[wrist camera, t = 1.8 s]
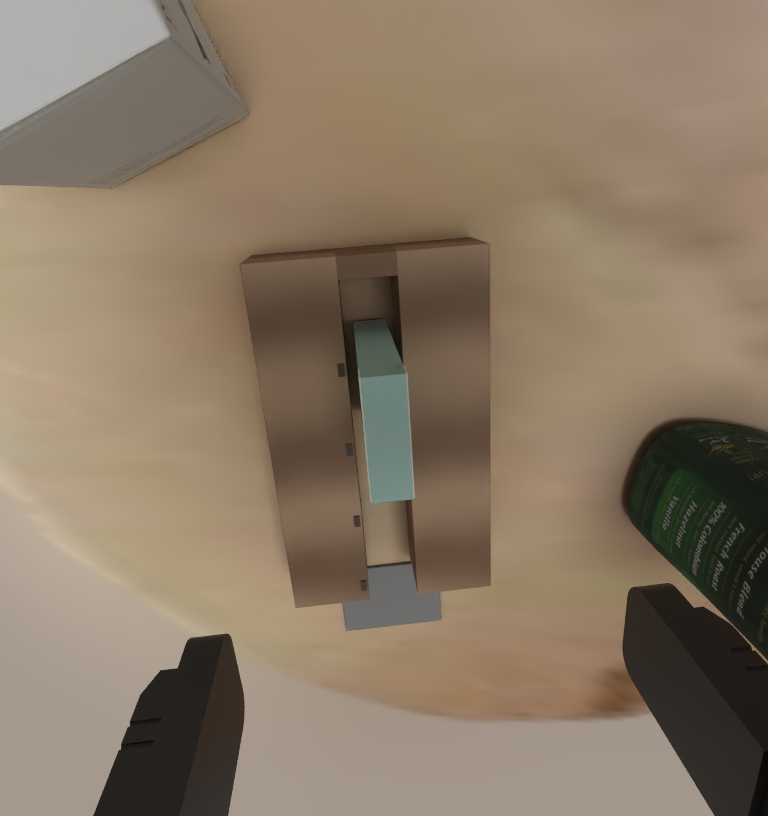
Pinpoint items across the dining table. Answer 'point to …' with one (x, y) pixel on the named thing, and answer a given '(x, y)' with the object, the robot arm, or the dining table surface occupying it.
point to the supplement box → (105, 89)
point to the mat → (392, 600)
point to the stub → (384, 413)
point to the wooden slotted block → (332, 416)
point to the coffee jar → (711, 515)
